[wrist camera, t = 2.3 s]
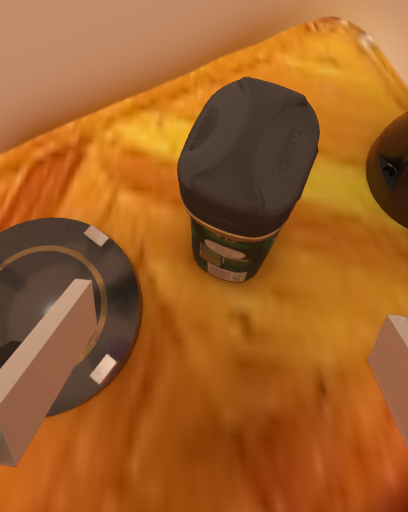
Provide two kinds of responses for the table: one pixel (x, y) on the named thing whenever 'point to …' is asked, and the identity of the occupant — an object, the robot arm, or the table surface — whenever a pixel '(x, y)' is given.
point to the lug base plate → (54, 285)
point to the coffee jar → (245, 173)
